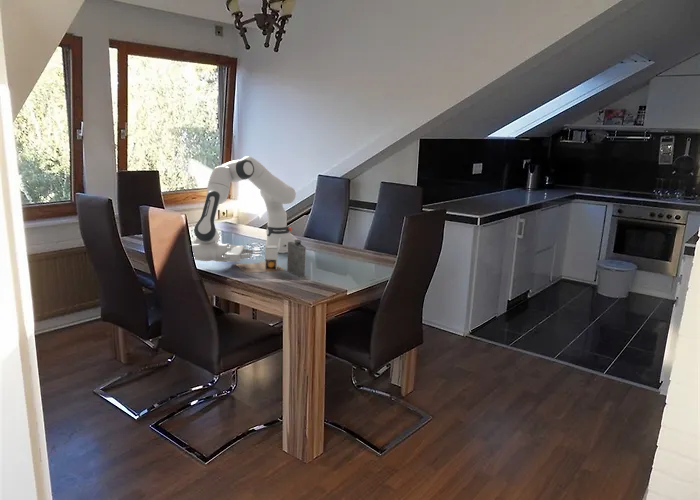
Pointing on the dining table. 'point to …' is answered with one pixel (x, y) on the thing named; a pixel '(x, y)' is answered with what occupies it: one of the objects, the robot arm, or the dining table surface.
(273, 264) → the orange ball
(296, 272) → the flask
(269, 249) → the white carton
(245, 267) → the tan flat board
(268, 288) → the dining table surface
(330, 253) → the dining table surface
